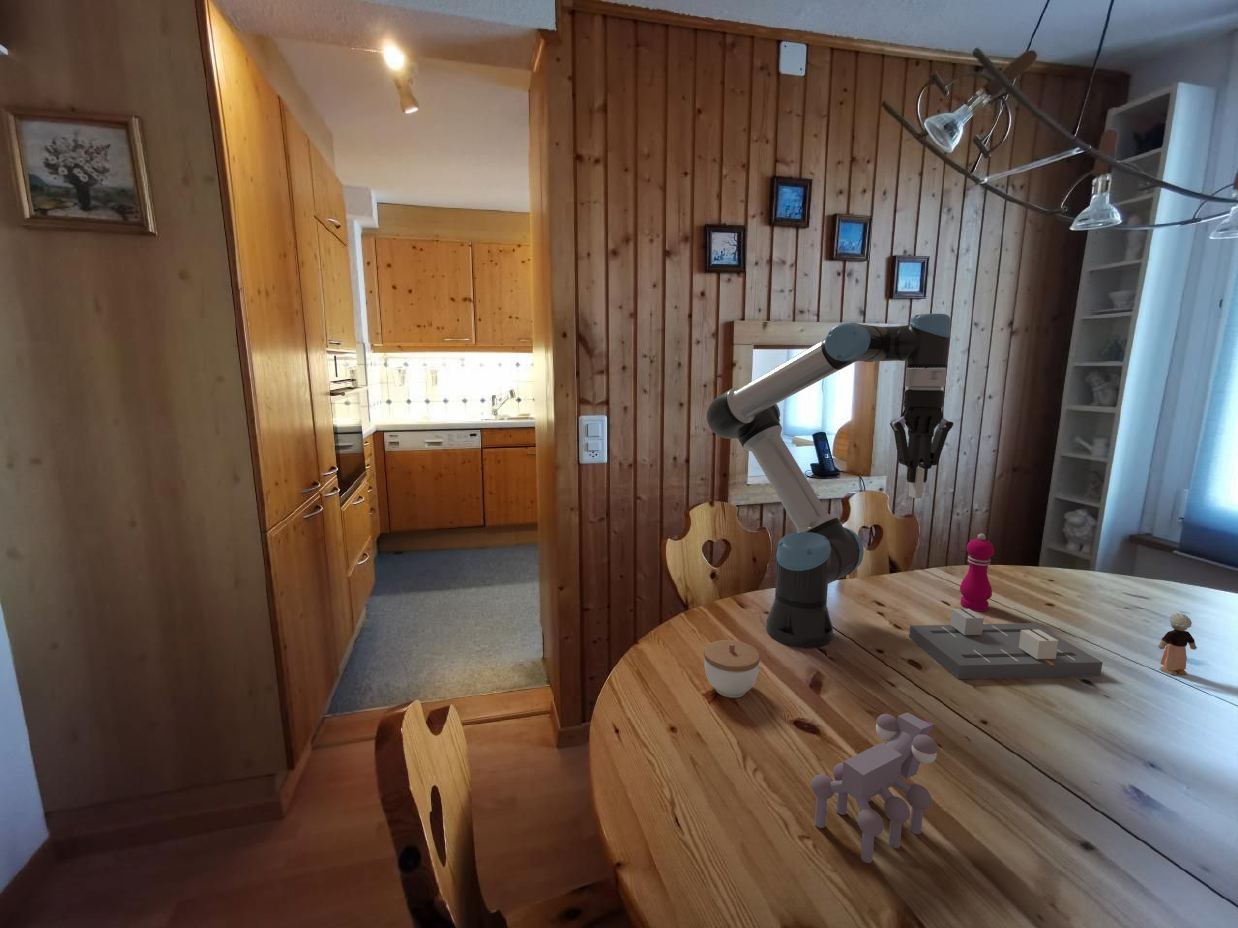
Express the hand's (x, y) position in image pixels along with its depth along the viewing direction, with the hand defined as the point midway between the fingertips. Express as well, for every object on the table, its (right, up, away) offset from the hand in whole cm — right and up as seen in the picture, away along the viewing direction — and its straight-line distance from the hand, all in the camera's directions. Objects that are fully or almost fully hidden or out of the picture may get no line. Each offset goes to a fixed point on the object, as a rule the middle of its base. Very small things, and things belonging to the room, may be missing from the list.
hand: (915, 496), depth 123 cm
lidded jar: (-43, -37, -13) cm, 59 cm away
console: (+18, -35, 0) cm, 39 cm away
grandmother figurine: (+50, -36, -7) cm, 62 cm away
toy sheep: (-28, -42, -45) cm, 68 cm away
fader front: (+22, -32, -6) cm, 40 cm away
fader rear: (+14, -31, +5) cm, 34 cm away
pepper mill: (+29, -31, +26) cm, 50 cm away
